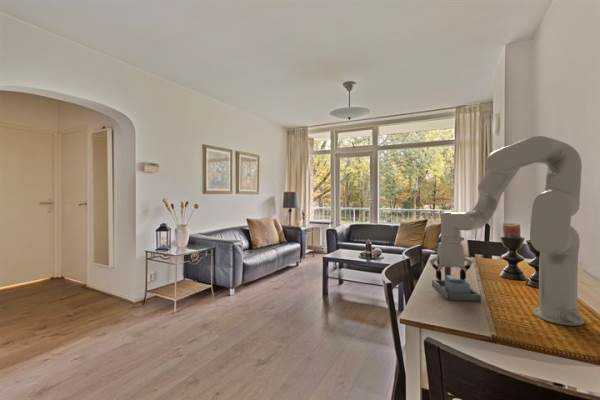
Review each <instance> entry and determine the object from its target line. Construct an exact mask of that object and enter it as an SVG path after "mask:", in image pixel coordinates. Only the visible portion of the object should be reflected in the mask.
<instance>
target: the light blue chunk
mask: <svg viewBox="0 0 600 400" xmlns="http://www.w3.org/2000/svg"><path fill="white" fill-rule="evenodd" d="M444 280H445V290H446V291H447V292H449V293H454V294H470V288H471V284H470V283H469V282H466V280H465V281H464V280H462V279H460V278H459V279H457V278H456V277H454V276H453V275H452V274H451V275H445V274H444Z"/></svg>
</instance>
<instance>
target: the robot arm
mask: <svg viewBox="0 0 600 400" xmlns="http://www.w3.org/2000/svg"><path fill="white" fill-rule="evenodd" d="M535 163H537V164H542V165H543V164H544V165H545V166H546V167H547V170H546V171H547V172H546V175H545V185H544V186H545V187H544V188H545V189H544V191H542V192H541V193H539V194H538V195H537V196H536V198H534V200H533V203H532V207H531V215H530V216H531V217H530V229H529V230H530V232H529V240H530V243H531V246H532V247H533V248H534V249H535V250H536V251H537V252H539V259H538V260H539V261H538V264H539V265H538V303H539V304H538V307H534V308H533V309H532V313H533V315H534V316H535V317H537V318H539V319H541V320H544V321H545V322H546V321H547V322H549V323H553V324H557V325H563V326H571V327H572V326H573V327H574V326H575V327H576V326H582V325H584V324H585V319H584V317H582V316H581V315H580V310H579V309H578V270H579V269H578V268H579V265H578V264H579V252H580V243H581V242H580V236H579V232H578V231H577V230H576V229H575V228H574V227H573V226H572V225H571V222H572V217H573V216H575V215H576V214H578V211H579V210H580V203H581V202H580V198H581V185H582V183H581V181H582V166H583V165H582V159H581V156H580V154H579V152H578V150H577V149H575V148H574V147H573V146H571V145H570V144H568V143H565V142H564V141H561V140H557V139H556V138H555V139H554V138H552V137H547V136H545V135H544V136H543V135H535V136H531V137H530V136H529V137H526V138H524V139H522V140H519V141H516V142H514V143H513V144H509V145H507V146H504V147H501V148H499V149H497V150H494V151H492V152H490V153H489V154H488V156H487V157H486V158H485V162H484V166H485V169H486V170H487V171H486V173H485V174H484V175H483V178H482V179H481V180H480V182H479V183H478V185H477V190H478V192H479V197H478V198H479V199H478V201H477V203H476V205H475V206H474V207H473V209H472V210H471V211H463V212H458V211H454V210H453V211H452V210H451V211H450V210H448V211H442V212H441V213H440V242H438V244H437V251H436V256H435V257H433V258H431V259H429V263H430V264H431V266H432V267H433V269H434V270H435V277H436V278H437V279H436V280H439V281H441V280H442V271H441V270H442V269H443V267H444V268H445V267H451V268H459V269H460V270H459V279H462V280H464V281H465V282H466V279H467V277H466V276H467V272H468V270H469V269H470V268H471V266H472V264H473V260H470V259H468V258H467V257H465V252H464V247H463V243H462V242H463V241H465V237H462V235H461V231H466V232H467V231H472V230H473V231H474V230H479V229H482V228H483V227H485V226H486V225H487V223H488V222H489V221H490V219H492V217H493V216H494V214H495V212H496V211H497V208H498V206H499V203H500V200H501V197H502V195H503V193H504V192H505V190H506V189H507V187H508V186H509V184H510V183H511V182H512V180H513V179H514V178H515V176H516V175H517V173H518V172H519V170H520V168H523V167H527V166H530V165H533V164H535ZM435 262H436V263H435ZM465 262H466V264H465ZM436 264H437V265H436Z"/></svg>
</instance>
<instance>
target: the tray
mask: <svg viewBox="0 0 600 400" xmlns="http://www.w3.org/2000/svg"><path fill="white" fill-rule="evenodd" d="M431 286H432V287H433V288H434V287H435V288H436V289H435V288H434V289H435V290H436V291H437V290H438V291H437V292H438V293H439V294H441V296H442V297H443V298H444V299H446V301H448V300H450V302H451V301H452V302H454V301H455V302H475V303H476V302H477V303H478V302H479V303H480V302H482V295H481V294H480V293H479V292H477V291H476V290H475V289H473V288H472V287H470V294H454V293H449V292H447V291H446V290H445V279H441V281H439V280H438V279H432V280H431Z"/></svg>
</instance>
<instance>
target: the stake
mask: <svg viewBox="0 0 600 400" xmlns="http://www.w3.org/2000/svg"><path fill="white" fill-rule="evenodd" d="M445 275H451V276H452V267H444V276H445Z"/></svg>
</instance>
